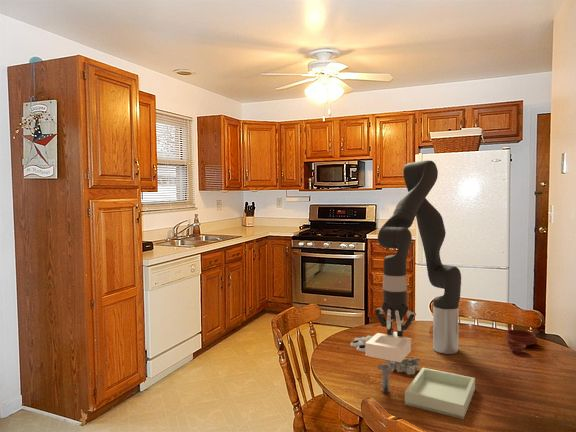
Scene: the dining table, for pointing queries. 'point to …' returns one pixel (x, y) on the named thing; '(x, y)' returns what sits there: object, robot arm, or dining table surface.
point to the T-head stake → (385, 376)
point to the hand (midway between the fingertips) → (395, 340)
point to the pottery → (520, 339)
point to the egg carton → (405, 365)
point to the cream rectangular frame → (388, 347)
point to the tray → (441, 392)
